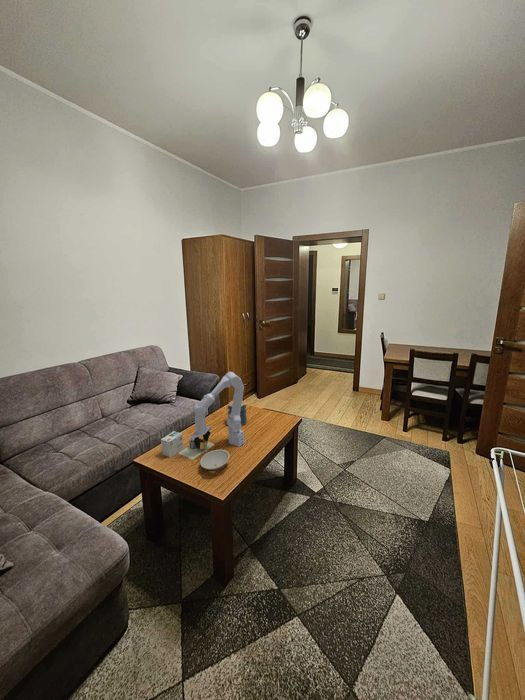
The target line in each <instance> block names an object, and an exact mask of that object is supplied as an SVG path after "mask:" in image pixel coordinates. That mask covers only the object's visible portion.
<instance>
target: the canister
mask: <svg viewBox="0 0 525 700" xmlns="http://www.w3.org/2000/svg"><path fill="white" fill-rule="evenodd" d="M232 404H233V399H232V400H231V401H229V402H228V406H227V419H228V418H229V415H230V414H231V411H232ZM246 408H247V405H246V402H245V401H243V400H242V404H241V411H240V418H241V426H245V425H246V424H247V422H248V420H247V409H246ZM245 423H246V424H245Z"/></svg>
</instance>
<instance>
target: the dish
mask: <svg viewBox="0 0 525 700" xmlns="http://www.w3.org/2000/svg"><path fill="white" fill-rule="evenodd" d="M229 459H230V453H229V451H228V450H224V449H215V450H211V451H209V452H208V451H207V453H205V454H204V455H203V456H202V457H201V459H200V460H199V461H200V463H199V464H200V466H201V468H203V469H205V470H208V471H216V470H219V469H221V468H222V467H223V466H224V465H225V464H227V463H228V462H229Z"/></svg>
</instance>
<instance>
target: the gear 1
mask: <svg viewBox="0 0 525 700" xmlns="http://www.w3.org/2000/svg"><path fill="white" fill-rule="evenodd" d="M188 446H189V448H191V449H197V448H196V445H195V443H193V442H192V440H191V439H190V440H188Z"/></svg>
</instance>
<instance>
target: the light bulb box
mask: <svg viewBox="0 0 525 700" xmlns="http://www.w3.org/2000/svg"><path fill="white" fill-rule="evenodd" d="M160 444H161V453H162V455H163V456H166V457H169V458H172V457H173V456H175V455H176V454H178V453H179V452H180V451H182V450H184V440H183V433H182V432H180V431H179V432H178V431H176V430H172V432H170V433H169V434H167V435H166V436H164V437H162V438H161V439H160Z"/></svg>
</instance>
